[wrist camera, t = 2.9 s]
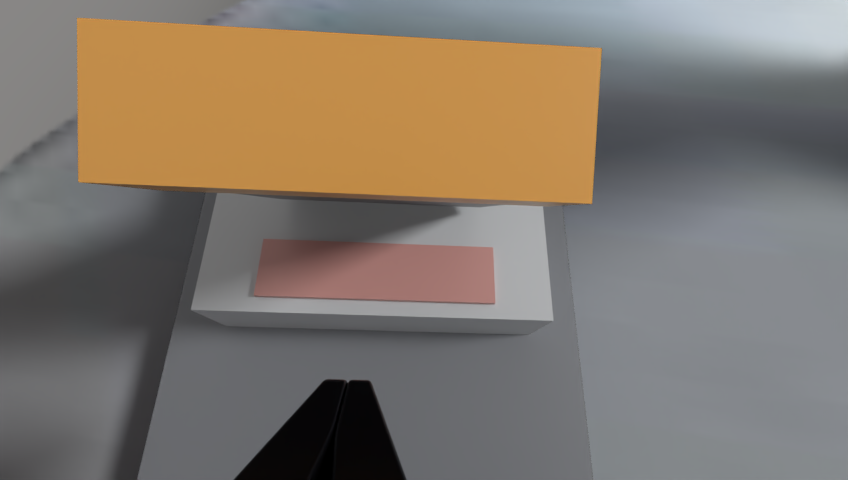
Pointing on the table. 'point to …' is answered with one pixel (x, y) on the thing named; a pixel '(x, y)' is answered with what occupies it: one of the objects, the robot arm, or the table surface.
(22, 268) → the table surface
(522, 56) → the lever
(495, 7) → the table surface
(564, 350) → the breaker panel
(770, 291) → the table surface
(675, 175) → the table surface
